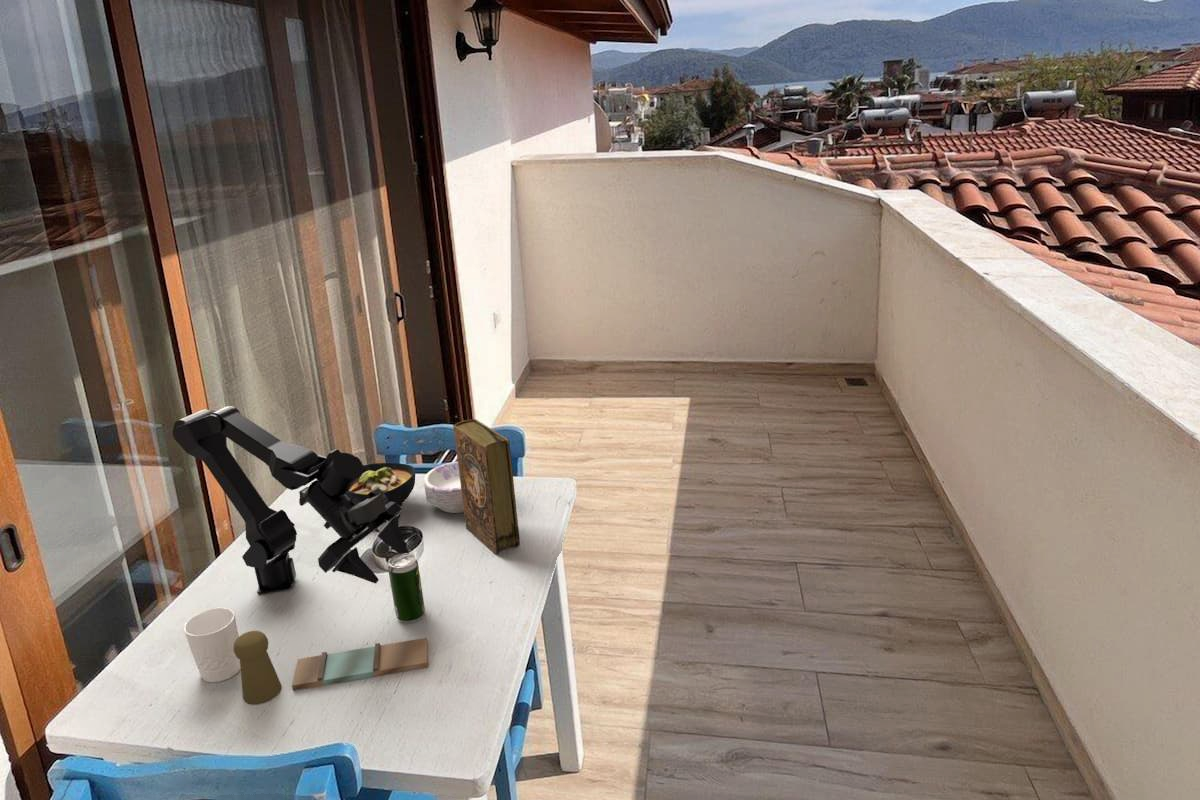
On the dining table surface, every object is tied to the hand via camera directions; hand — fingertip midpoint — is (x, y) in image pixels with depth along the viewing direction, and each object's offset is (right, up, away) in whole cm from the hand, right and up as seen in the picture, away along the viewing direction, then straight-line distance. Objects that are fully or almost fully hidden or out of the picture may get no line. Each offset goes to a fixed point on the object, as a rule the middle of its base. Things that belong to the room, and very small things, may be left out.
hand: (392, 568), depth 151 cm
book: (+14, +1, +28) cm, 32 cm away
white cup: (-27, -16, -9) cm, 33 cm away
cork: (-18, -17, -15) cm, 29 cm away
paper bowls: (+5, +6, +44) cm, 45 cm away
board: (-2, -14, -10) cm, 18 cm away
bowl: (-13, +5, +44) cm, 46 cm away
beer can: (+3, -10, +3) cm, 10 cm away
